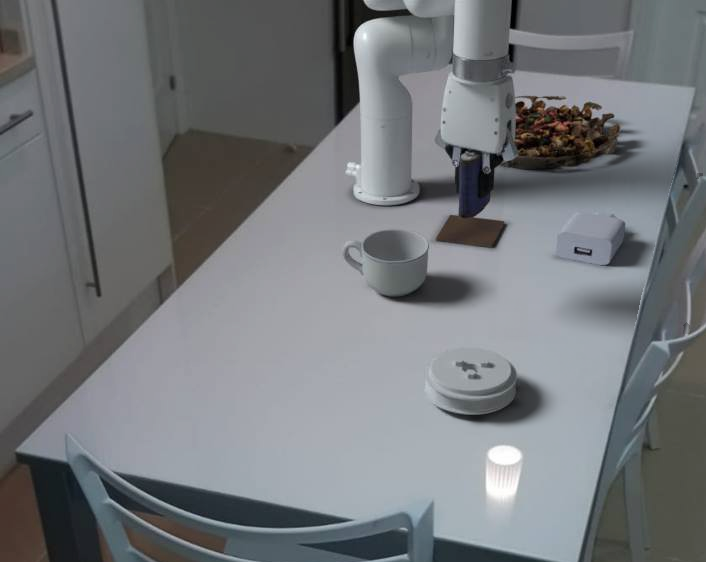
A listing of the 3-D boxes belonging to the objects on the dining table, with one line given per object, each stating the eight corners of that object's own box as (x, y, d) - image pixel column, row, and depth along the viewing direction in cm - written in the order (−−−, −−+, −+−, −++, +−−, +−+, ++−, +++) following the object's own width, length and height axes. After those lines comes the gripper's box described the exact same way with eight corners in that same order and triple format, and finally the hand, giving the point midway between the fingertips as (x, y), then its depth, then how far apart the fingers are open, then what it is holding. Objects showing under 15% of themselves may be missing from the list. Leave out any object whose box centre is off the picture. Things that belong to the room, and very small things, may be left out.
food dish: (640, 135, 231) (646, 98, 226) (577, 192, 210) (583, 153, 205) (492, 102, 245) (495, 67, 240) (419, 153, 224) (421, 115, 219)
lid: (450, 429, 146) (451, 398, 142) (409, 383, 155) (409, 352, 152) (532, 406, 149) (535, 375, 146) (487, 362, 159) (489, 332, 156)
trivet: (435, 240, 191) (435, 237, 190) (450, 217, 198) (450, 214, 198) (491, 247, 188) (491, 244, 188) (504, 224, 196) (504, 220, 195)
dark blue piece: (478, 193, 167) (481, 125, 161) (495, 197, 166) (500, 128, 159) (454, 217, 161) (457, 146, 154) (472, 221, 160) (476, 150, 153)
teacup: (437, 279, 179) (439, 234, 174) (412, 309, 172) (413, 263, 167) (361, 265, 184) (360, 220, 179) (333, 293, 176) (331, 247, 171)
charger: (631, 231, 192) (608, 266, 182) (580, 222, 196) (555, 256, 185) (635, 205, 189) (612, 240, 179) (583, 197, 193) (558, 230, 182)
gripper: (545, 67, 149) (534, 195, 160) (441, 50, 156) (438, 173, 167) (521, 83, 144) (511, 214, 155) (415, 64, 151) (413, 190, 162)
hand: (473, 191), depth 161 cm, fingers closed on dark blue piece, 3 cm apart
